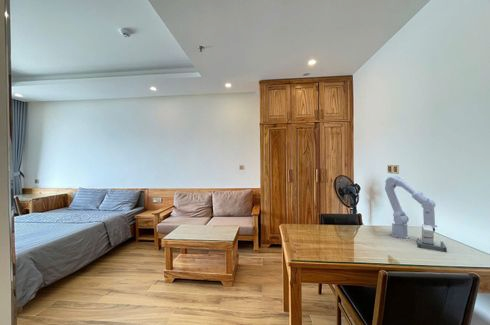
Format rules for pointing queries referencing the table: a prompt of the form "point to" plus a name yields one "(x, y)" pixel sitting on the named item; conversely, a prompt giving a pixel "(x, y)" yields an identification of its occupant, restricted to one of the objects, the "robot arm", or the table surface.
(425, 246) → the bay
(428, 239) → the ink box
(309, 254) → the table surface
